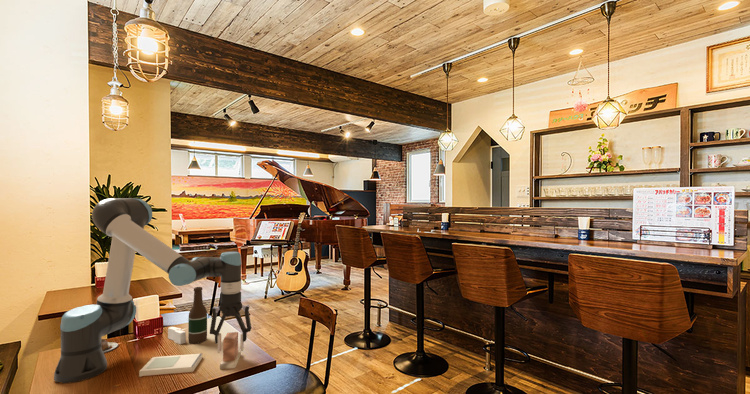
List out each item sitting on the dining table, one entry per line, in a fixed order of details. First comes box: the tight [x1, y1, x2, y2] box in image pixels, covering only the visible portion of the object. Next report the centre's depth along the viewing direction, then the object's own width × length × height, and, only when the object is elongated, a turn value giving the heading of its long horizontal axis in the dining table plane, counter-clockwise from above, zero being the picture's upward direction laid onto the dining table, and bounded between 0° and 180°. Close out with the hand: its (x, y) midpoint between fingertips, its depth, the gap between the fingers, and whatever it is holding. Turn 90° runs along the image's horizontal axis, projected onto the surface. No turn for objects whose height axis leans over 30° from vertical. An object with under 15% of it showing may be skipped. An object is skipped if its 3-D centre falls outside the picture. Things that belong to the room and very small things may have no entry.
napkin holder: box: [167, 326, 187, 345], centre depth 164 cm, size 15×11×6 cm
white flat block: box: [138, 352, 203, 378], centre depth 139 cm, size 18×12×2 cm, turn 101°
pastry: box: [101, 338, 119, 354], centre depth 156 cm, size 12×12×5 cm
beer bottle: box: [187, 286, 208, 345], centre depth 165 cm, size 8×8×24 cm
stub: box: [219, 331, 242, 370], centre depth 143 cm, size 5×12×10 cm, turn 11°
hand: (230, 350), depth 143 cm, fingers open, 8 cm apart
